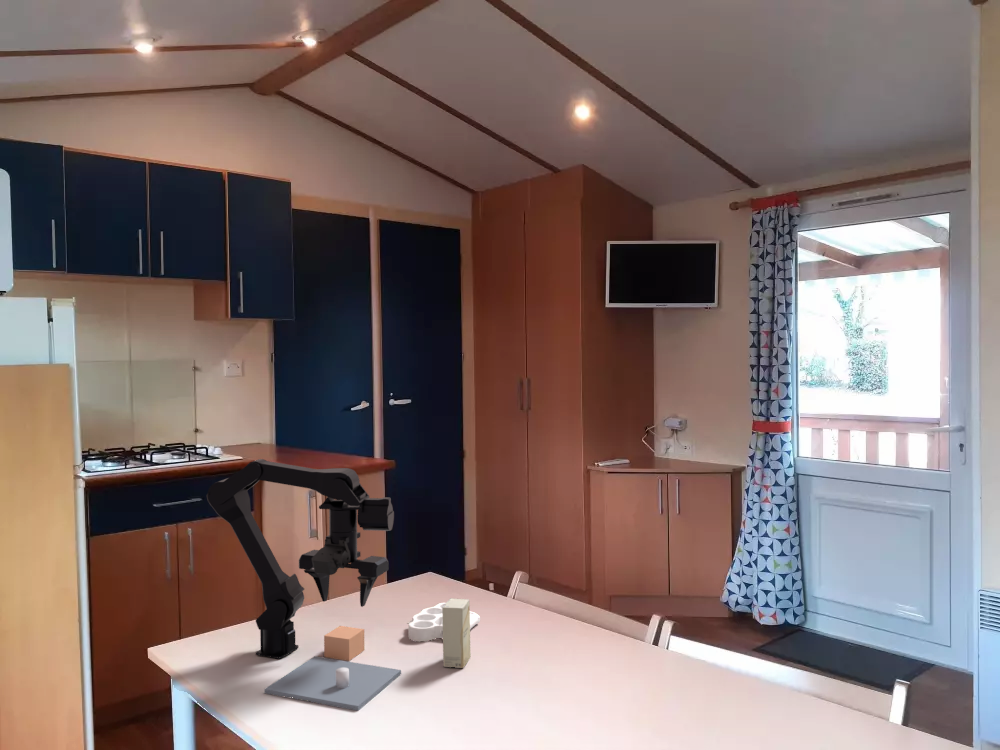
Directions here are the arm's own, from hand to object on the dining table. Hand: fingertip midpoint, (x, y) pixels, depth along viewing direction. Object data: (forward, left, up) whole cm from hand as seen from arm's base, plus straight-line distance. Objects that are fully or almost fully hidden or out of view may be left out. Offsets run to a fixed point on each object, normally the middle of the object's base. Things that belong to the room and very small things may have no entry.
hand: (343, 603), depth 156 cm
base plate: (+6, -13, -11) cm, 18 cm away
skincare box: (+24, +4, -11) cm, 27 cm away
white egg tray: (+13, +20, -11) cm, 26 cm away
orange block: (0, 0, -11) cm, 11 cm away
